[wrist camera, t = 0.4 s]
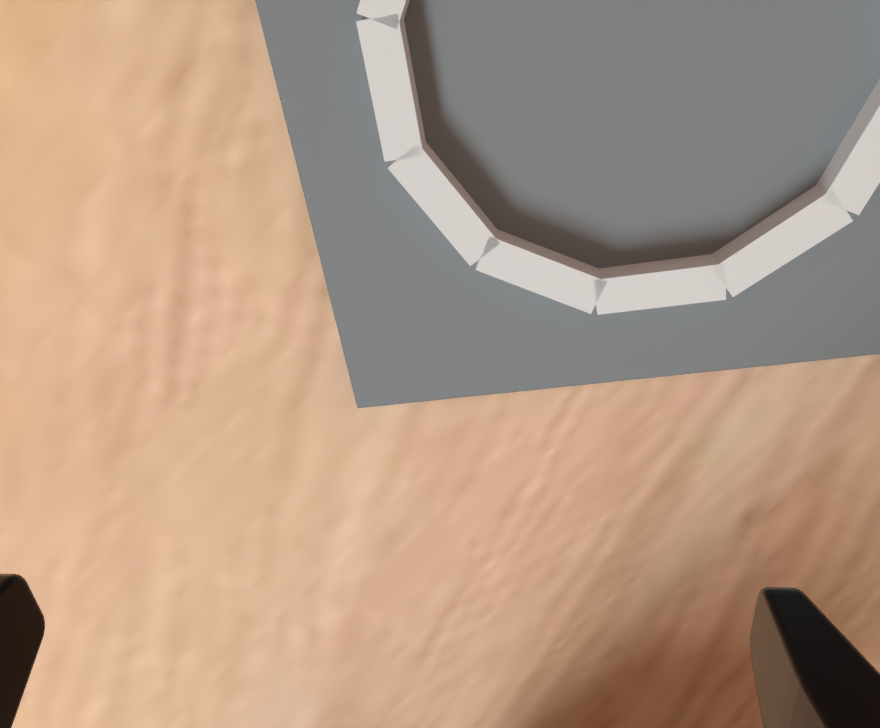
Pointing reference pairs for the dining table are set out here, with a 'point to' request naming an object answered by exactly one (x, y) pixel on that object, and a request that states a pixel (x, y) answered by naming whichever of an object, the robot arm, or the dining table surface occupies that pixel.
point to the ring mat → (585, 185)
